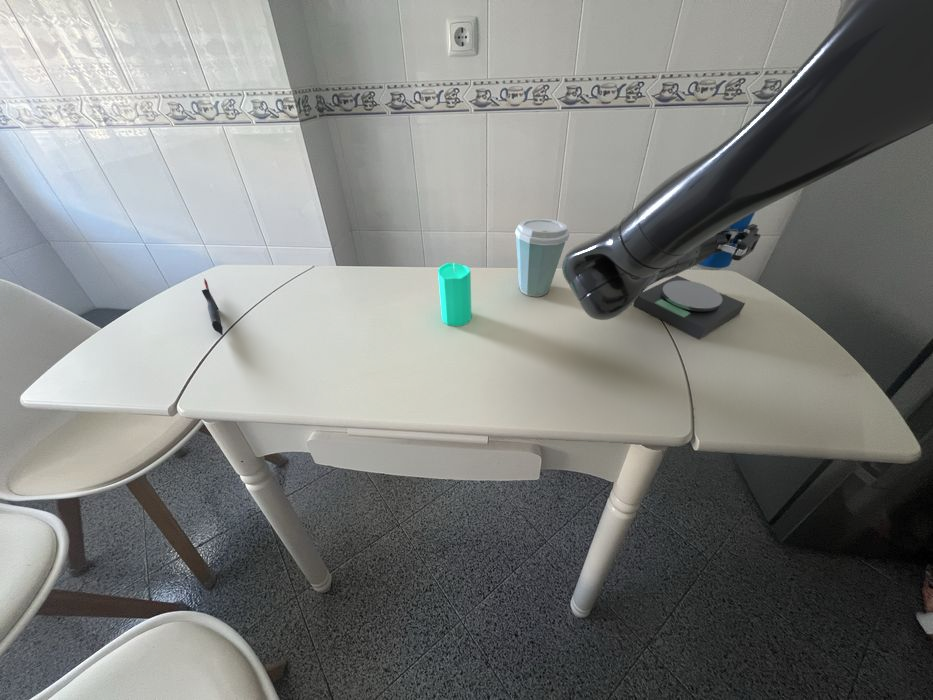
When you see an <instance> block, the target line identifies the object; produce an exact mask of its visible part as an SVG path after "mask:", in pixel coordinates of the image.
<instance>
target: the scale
mask: <svg viewBox="0 0 933 700" xmlns="http://www.w3.org/2000/svg"><path fill="white" fill-rule="evenodd" d="M680 280H682V281H691V280H690V279H687V278H685V277H682V276H680V275H679V274H676V275H674V276H672V277H671V278H669V279H667V280H664V281H663V282H661V283H658V284H657V285H655V286H651V288H649V289H647V290H646V289H645V290H644V291H643V292H642V293H641V295H640V296H639V297H638V298H637V300H636V301H635V302H634V303H633V304H632V306H633V307H635V308H637V309H638V310H641V311H643V312H645V313H647V314H649V315H651V316H652V317H655V318H656V319H658V320H661V321H663V322H664V323H666V324H669V325H671V326H672V327H674V328H676V329H678V330H680V331H682V332H684V333H685V334H688V335H690V336H692V337H694V338H695V339H698V340H701V339H702V338H704V337H706V336H707V335H709V334H710V333H712V332H714V331H715V330H717V329H718V328H720V327H721V326H723V325H724V324H726V323H727V322H730V321H731V320H732V319H734V318H736V317H737V316H738V315H740V314H741V312H742V311H743V308H744V307H745V305H746V303H745V302H743V301H741V300H738V299H736V298H733V297H730V296H728V295H726V294H723V293H721V292H718V291H717V292H718V293H719V294H720V295H721V296H722V299H723V300H722V303H721V305H720V307H719V308H717V309H715V310H712V311H692V310H687V309H684V308H681V307H678V306H676V305H674V304H672V303H670V302H669V301H667V300H666V299H665V298H664V297H663V295H662V289H663V287H664V285H665V284H667V283H669V282H672V281H680Z"/></svg>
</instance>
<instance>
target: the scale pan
mask: <svg viewBox="0 0 933 700" xmlns="http://www.w3.org/2000/svg"><path fill="white" fill-rule="evenodd" d="M719 293H720V292H719ZM719 293H718V291H717V290H716V289H715V288H713V287H712V286H709V285H706V284H704V283H701V282H696V281H692V280H690V281H682V280H680V281H672V282H669V283H667V284H665V285H664V287H663V289H662V295H663V297H664V298H665V299H666V300H667V301H669V302H670V303H672V304H674V305H676V306H678V307H681V308H684V309H687V310H692V311H712V310H715V309H717V308H719V307H720V305H721V303H722V300H723V299H722V296H721V295H720V294H719Z"/></svg>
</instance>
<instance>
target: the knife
mask: <svg viewBox="0 0 933 700" xmlns="http://www.w3.org/2000/svg"><path fill="white" fill-rule="evenodd" d="M203 281H204V283H203V284H204V286H205V288H204V289H201V293H202V295H203V296H204V298H205V300H206V303H207V311H208V315H209V319H210V322H211V325H212V328H213V330H214V331H215V332H216V333H218V334H220V335H221V336H223V335H224V333H223V329H224V328H223V325H222V319H221V316H220V313H219V310H220V309H219V307H218V305H217V303H216V301H215V300H214V297H213V296H212V293H211V292H210V289H209V285H208V281H207V280H206V278H203Z"/></svg>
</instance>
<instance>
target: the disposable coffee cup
mask: <svg viewBox="0 0 933 700" xmlns="http://www.w3.org/2000/svg"><path fill="white" fill-rule="evenodd" d="M514 235H515V239H516V240H515V241H516V242H515V243H516V259H517V277H518V287H519V290H520V292H521V293H522V294H524V295H526V296H527V297H528V296H529V297H533V298H539V297H543V296H545V295H547V294H548V292H549V291H550V290H551V287H552V283H553V280H554V277H555V275H556V271H557V268H558V265H559V262H560V260H561V256H562V254H563V251H564V247H565V244H566V242H567V241H568V240H569V238H570V230H569V228H568V226H567V225H566V224H565V223H564V222H562V221H559V220H555V219H551V218H541V217H540V218H528V219H524V220H521V222H520V223H519V224H518V225H517V227H516V229H515V232H514Z"/></svg>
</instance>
